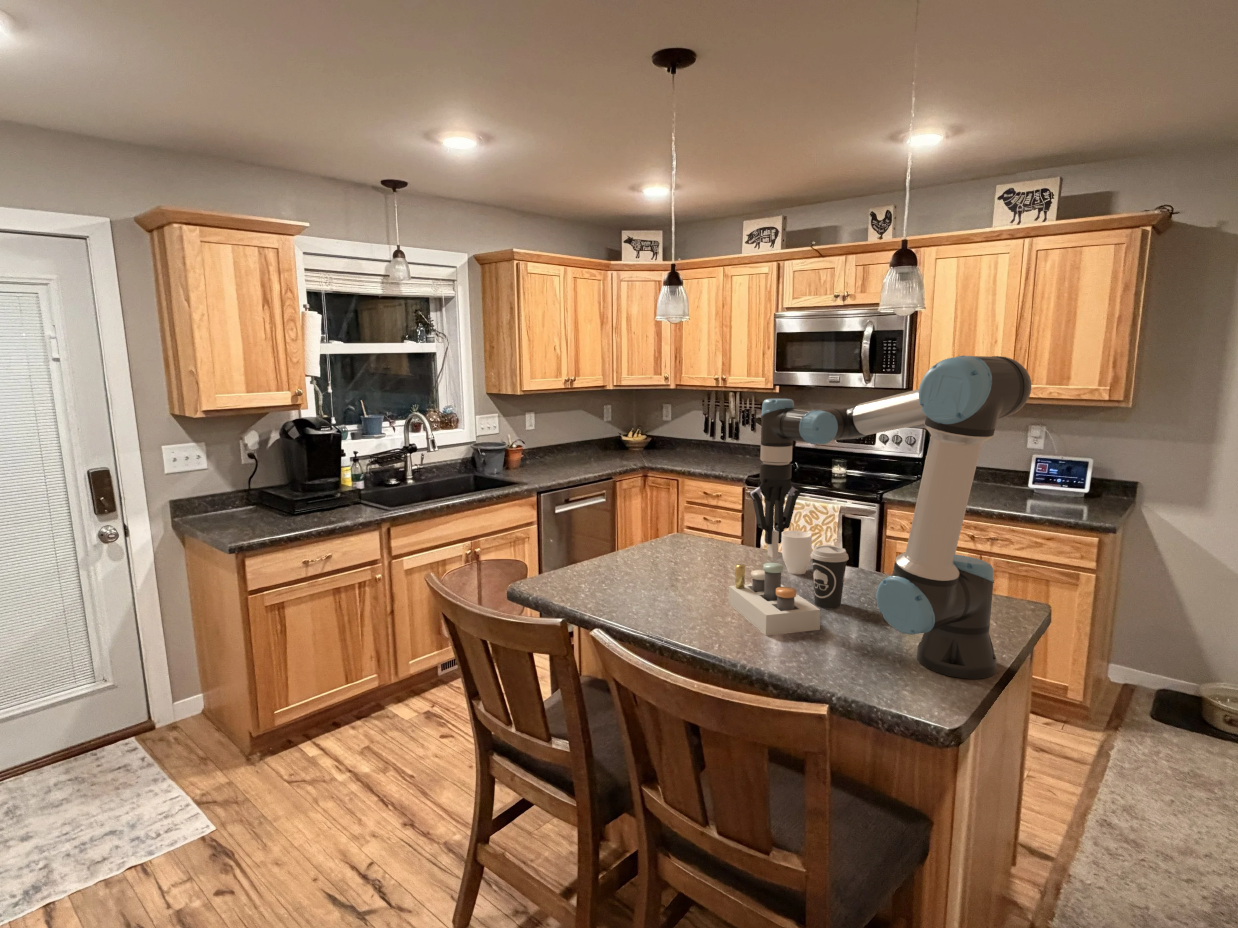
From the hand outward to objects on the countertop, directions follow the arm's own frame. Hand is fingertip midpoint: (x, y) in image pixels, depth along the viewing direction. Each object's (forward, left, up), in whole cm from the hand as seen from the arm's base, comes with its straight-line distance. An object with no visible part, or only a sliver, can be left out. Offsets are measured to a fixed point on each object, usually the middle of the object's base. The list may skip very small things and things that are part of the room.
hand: (772, 556), depth 172 cm
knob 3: (-7, 0, -16) cm, 17 cm away
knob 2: (0, 0, -12) cm, 12 cm away
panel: (0, 0, -16) cm, 16 cm away
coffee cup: (+4, -18, -16) cm, 24 cm away
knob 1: (+7, 0, -16) cm, 17 cm away
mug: (+33, -25, -16) cm, 44 cm away
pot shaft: (+9, +5, -11) cm, 14 cm away
